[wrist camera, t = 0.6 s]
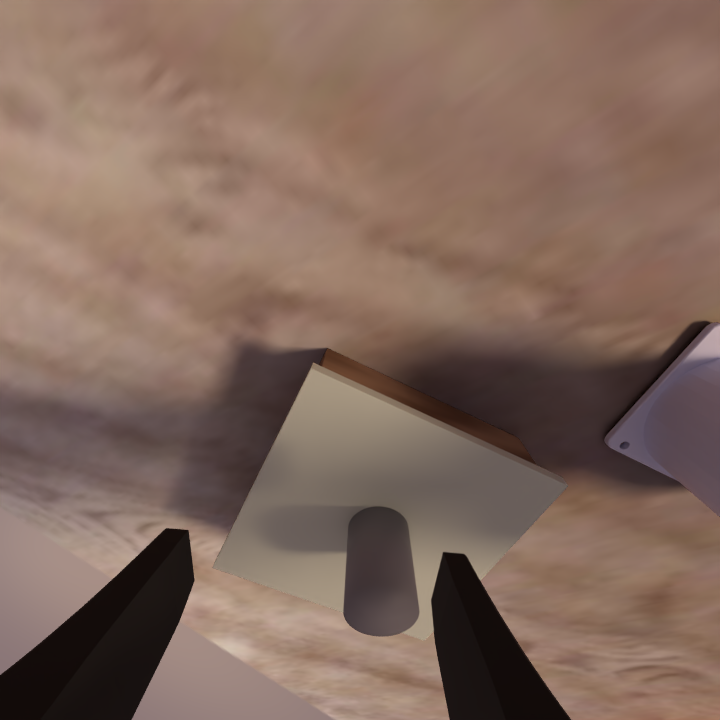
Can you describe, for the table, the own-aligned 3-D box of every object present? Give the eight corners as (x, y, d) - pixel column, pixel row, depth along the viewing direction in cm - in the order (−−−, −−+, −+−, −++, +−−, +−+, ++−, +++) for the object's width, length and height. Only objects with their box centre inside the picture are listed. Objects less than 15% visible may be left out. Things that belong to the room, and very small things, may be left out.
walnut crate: (518, 437, 21) (546, 480, 17) (412, 568, 25) (420, 622, 22) (327, 348, 19) (319, 377, 15) (247, 506, 23) (228, 555, 20)
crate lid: (561, 476, 17) (625, 563, 13) (423, 629, 22) (436, 731, 18) (313, 362, 15) (292, 421, 11) (216, 557, 20) (175, 653, 16)
